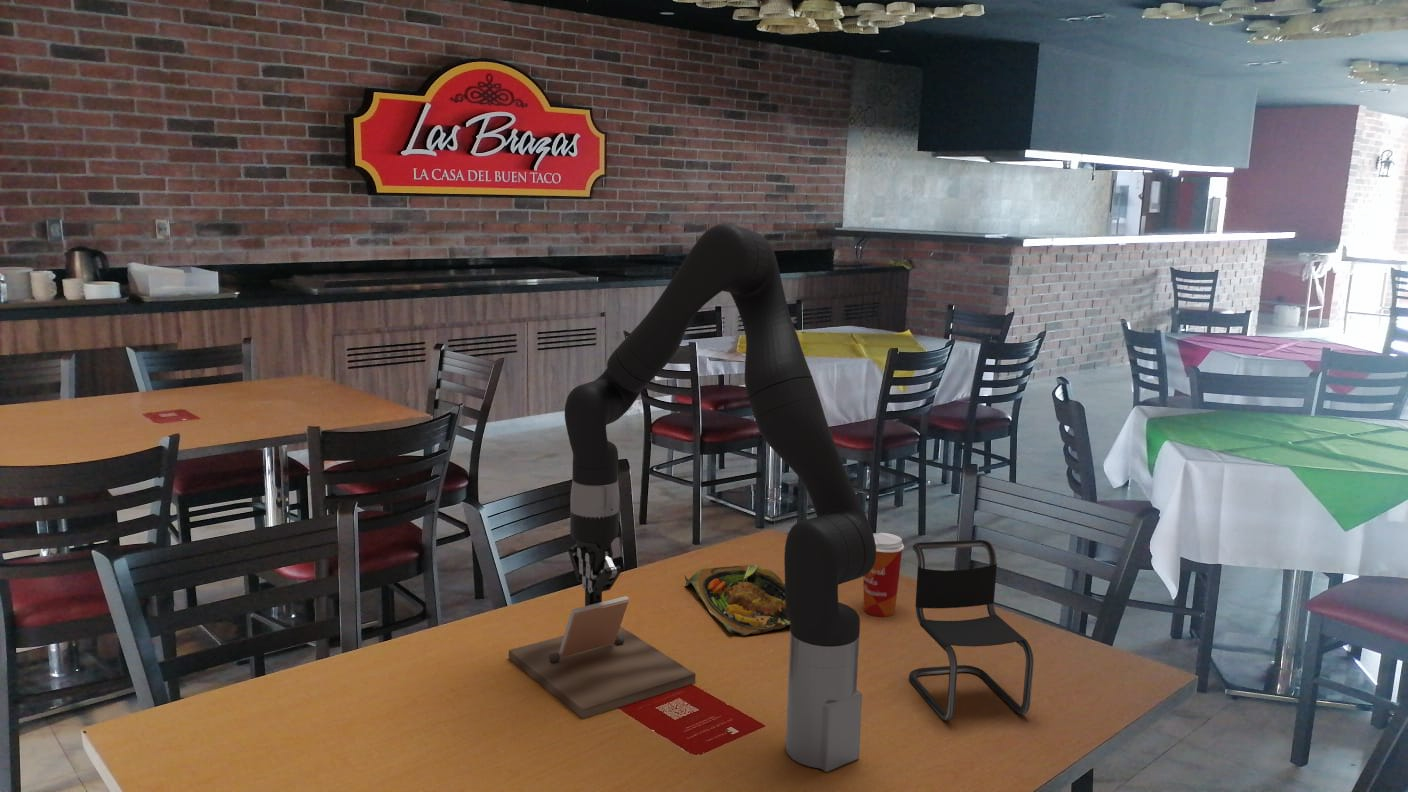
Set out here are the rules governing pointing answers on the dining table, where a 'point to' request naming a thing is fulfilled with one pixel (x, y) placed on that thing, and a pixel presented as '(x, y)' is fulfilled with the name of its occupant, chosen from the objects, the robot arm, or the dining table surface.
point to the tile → (593, 626)
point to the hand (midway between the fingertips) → (593, 612)
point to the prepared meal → (742, 597)
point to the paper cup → (883, 576)
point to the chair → (964, 622)
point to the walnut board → (602, 673)
